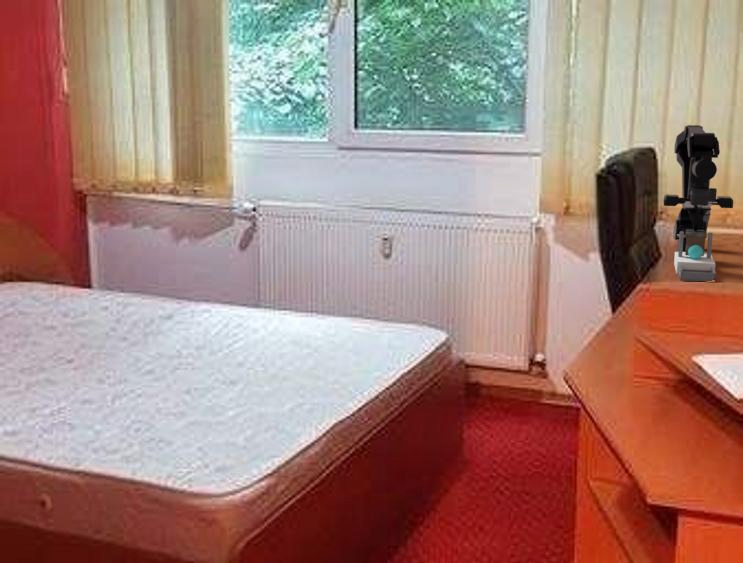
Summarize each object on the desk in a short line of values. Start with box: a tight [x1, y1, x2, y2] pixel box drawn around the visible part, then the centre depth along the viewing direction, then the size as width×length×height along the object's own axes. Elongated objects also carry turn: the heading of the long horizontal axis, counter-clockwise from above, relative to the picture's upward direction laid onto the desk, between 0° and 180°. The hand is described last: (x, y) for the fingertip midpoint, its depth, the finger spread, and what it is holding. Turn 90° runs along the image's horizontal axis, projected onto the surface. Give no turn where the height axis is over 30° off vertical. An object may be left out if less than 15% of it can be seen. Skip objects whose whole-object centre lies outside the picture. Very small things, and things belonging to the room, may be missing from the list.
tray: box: [678, 266, 717, 282], centre depth 255 cm, size 9×9×2 cm
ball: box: [688, 245, 703, 259], centre depth 265 cm, size 4×4×4 cm
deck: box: [673, 231, 716, 275], centre depth 267 cm, size 17×10×11 cm, turn 165°
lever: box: [685, 229, 708, 256], centre depth 269 cm, size 5×6×7 cm
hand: (695, 231), depth 269 cm, fingers closed, pressing on lever
